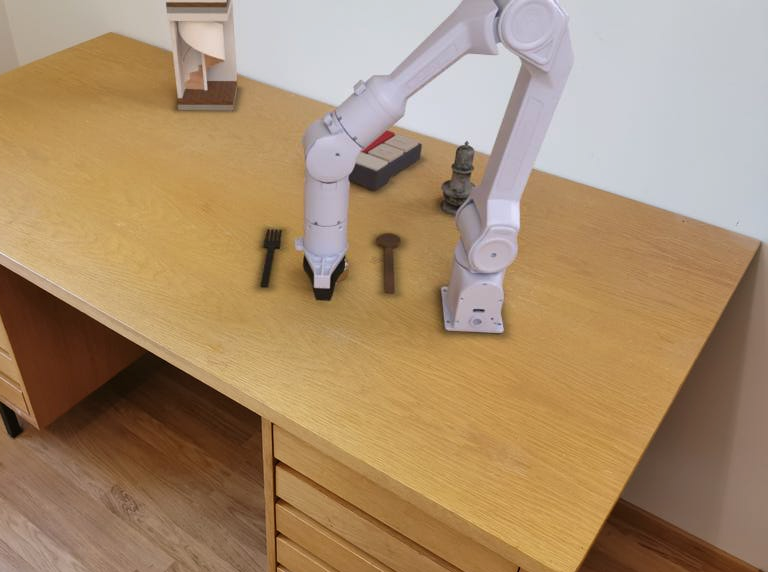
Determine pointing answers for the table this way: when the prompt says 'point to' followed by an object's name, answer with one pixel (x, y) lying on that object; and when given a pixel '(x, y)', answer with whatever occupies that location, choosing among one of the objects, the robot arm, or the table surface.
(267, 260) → the black fork
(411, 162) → the calculator
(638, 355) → the table surface
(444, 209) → the grey stone chess piece
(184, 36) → the spiral staircase model
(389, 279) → the brown disc-ended stick
